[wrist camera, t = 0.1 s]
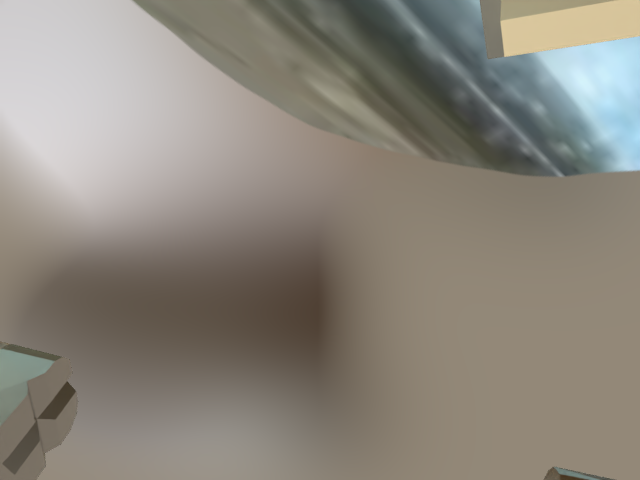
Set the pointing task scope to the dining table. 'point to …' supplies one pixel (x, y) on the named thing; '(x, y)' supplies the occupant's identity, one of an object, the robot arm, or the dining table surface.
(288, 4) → the dining table surface
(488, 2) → the stand
